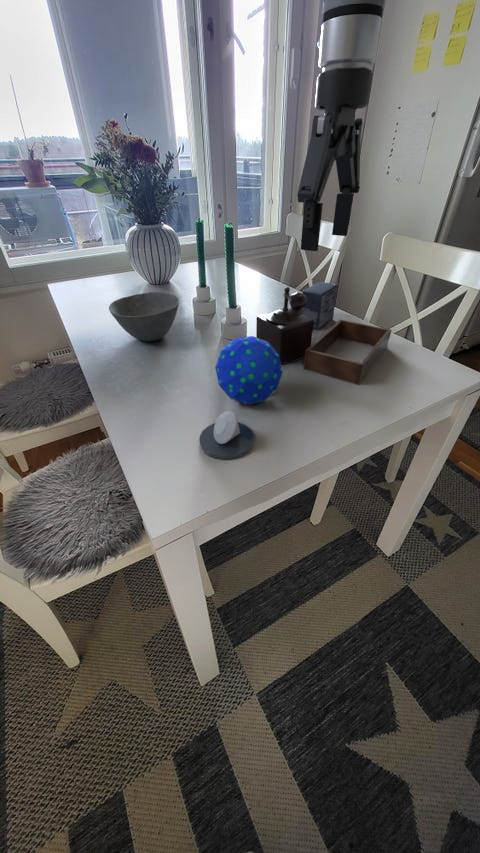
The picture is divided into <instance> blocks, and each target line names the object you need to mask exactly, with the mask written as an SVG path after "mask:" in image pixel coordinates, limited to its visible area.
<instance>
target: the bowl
mask: <svg viewBox="0 0 480 853" xmlns="http://www.w3.org/2000/svg"><path fill="white" fill-rule="evenodd" d="M179 305H180V298H179V297H178V296H177V295H175V294H173V293H169V292H162V291H161V292H160V291H151V292H143V293H137V294H132V295H128V296H124V297H121V298H118V299H116V300H113V301H112V302H111V303H110V304H109V306H108V311H109V313H110V314H111V316H112V317H113V318H114V320H115V321H116V322H117V323H118V324H119V326H120V327H121V328H122V329H123V330H124V331H125V332H126V333H127V334H129V335H130V336H131V337H133V338H135V339H136V340H139V341H142V342H156V341H158V340H161V339H162V338H164V337H165V336H166V335H167V334H168V332H169V331H170V330H171V328H172V326H173V324H174V321H175V320H176V316H177V312H178V309H179Z"/></svg>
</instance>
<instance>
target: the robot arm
mask: <svg viewBox="0 0 480 853" xmlns="http://www.w3.org/2000/svg"><path fill="white" fill-rule="evenodd" d="M384 5H385V0H323V4H322V18H321V33H320V38H319V39H318V41H317V48H318V50H319V54H318V55H319V57H318V67H319V68H320V70H322V72H320V73H319V74H318V76H317V77H316V87H315V88H316V90H315V98H314V99H315V100H314V107H315V109H316V110H318V111H324V114H319V115H318V114H317V115H313V118H312V126H311V132H310V138H309V139H310V140H309V144H308V148H307V150H306V151H307V152H306V156H305V161H304V164H303V168H302V172H301V177H300V181H299V185H298V190H297V195H296V196H297V202H298V203H303V215H302V227H301V240H300V251H307V252H308V251H310V252H318V250H319V245H320V244H319V243H320V236H321V235H320V234H321V233H320V232H321V224H322V214H323V206H324V204H323V203H324V202H321V199H322V196H323V194H324V192H325V189H326V186H327V182H328V180H329V178H330V174H331V171H332V169H333V166H334V162H335V166H336V173H337V181H338V187H339V188H338V189H339V192H338V193H336V200H335V205H334V206H335V207H334V216H333V217H334V218H333V221H332V222H333V224H332V231H331V236H338V237H339V236H340V237H347V236H348V233H349V227H350V226H349V225H350V219H351V212H352V206H353V200H354V194H359V192H360V189H361V186H360V181H361V180H360V179H361V141H362V140H361V139H362V138H361V137H362V129H363V118H362V117H360V118H356V111H357V110H358V109H364V108H366V107H367V106H368V105H369V103H370V97H371V92H372V84H373V78H374V73H373V70H372V69H371V66H373V65H374V64H375V63H376V60H377V54H378V46H379V40H380V33H381V27H382V19H383V12H384V7H385V6H384Z"/></svg>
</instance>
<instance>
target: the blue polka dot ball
mask: <svg viewBox="0 0 480 853" xmlns="http://www.w3.org/2000/svg"><path fill="white" fill-rule="evenodd" d="M215 372H216V373H215V374H216V378H217V382H218V386H219V387H220V389H222V391H223V392H224V393H225V394H226V395H227V396H228V397H229V399H230V400H233V401H236V402H239V403H241V404H244V405H252V404H257V403H261V402H265V401H266V400H267V399H268V398H269V397H270V396H271V395H272V394H273V393H274V392H275V391H276V390H278V388H279V385H280V382H281V378H282V375H283V367H282V364H281V362H280V357H279V355H278V353H277V352H276V351H275V350H274V348H273V347H272V346H271V345H270V344H269V342H267V341H264V340H261V339H259V338H256V336H253V335H251V336H244V337H237V338H234V339H232V340H231V341H230V342H229V343H228V344H226V346H224V347H223V348H222V349H221V350H220V352H219V356H218V357H217V361H216V364H215Z"/></svg>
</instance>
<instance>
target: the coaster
mask: <svg viewBox="0 0 480 853" xmlns="http://www.w3.org/2000/svg"><path fill="white" fill-rule="evenodd" d="M215 423H216V422H213V423H212V424H209V425H208V426H206V427H205V428H204V429H202V432H201V433H200V434H199V438H198V440H199V441H198V442H199V447H200V449H201V451H202V452H203V453H204V454H205V455H206V456H208V457H210V458H212V459H216V460H221V461H222V460H223V461H227V460H235V459H239V458H241V457H243V456H245V455H246V454H248V453H249V452H250V451H251V450H252V448H253V447H254V444H255V434H254V432H253V431H252V429H251V428H250V427H249V426H248V425H246V424H245V423H242V422H239V421H238V425H239V429H240V434H238V435H237V436H235V437H234V438H232V439H231V440H230V441H228V442H227V443H224V444H219V443H218V442H217V441H216V440H215V438H214V426H215Z"/></svg>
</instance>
